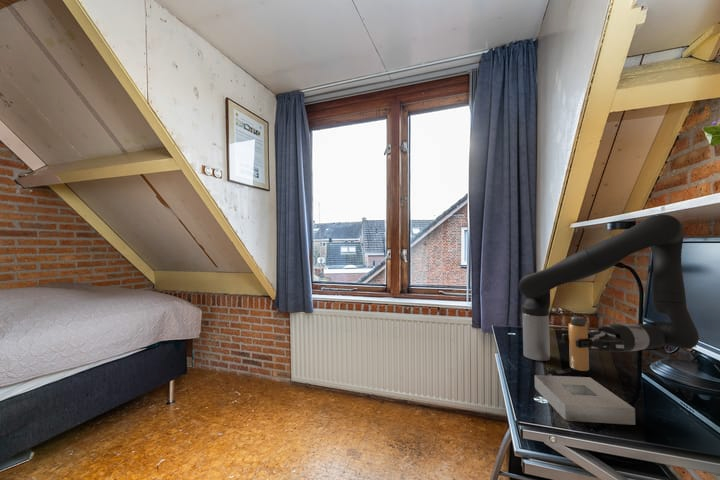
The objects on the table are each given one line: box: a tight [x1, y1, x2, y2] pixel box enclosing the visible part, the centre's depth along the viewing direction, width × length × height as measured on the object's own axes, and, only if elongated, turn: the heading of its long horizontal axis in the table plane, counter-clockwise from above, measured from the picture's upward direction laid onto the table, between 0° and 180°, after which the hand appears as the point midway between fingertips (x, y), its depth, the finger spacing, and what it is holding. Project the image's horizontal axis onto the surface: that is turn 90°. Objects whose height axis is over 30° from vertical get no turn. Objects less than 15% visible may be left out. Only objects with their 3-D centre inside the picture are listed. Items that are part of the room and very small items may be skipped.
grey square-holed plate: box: [534, 374, 636, 426], centre depth 85 cm, size 18×16×4 cm
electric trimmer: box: [545, 367, 588, 377], centre depth 102 cm, size 4×16×3 cm, turn 105°
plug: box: [568, 316, 590, 372], centre depth 85 cm, size 4×4×14 cm
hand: (569, 340), depth 85 cm, fingers closed on plug, 4 cm apart
